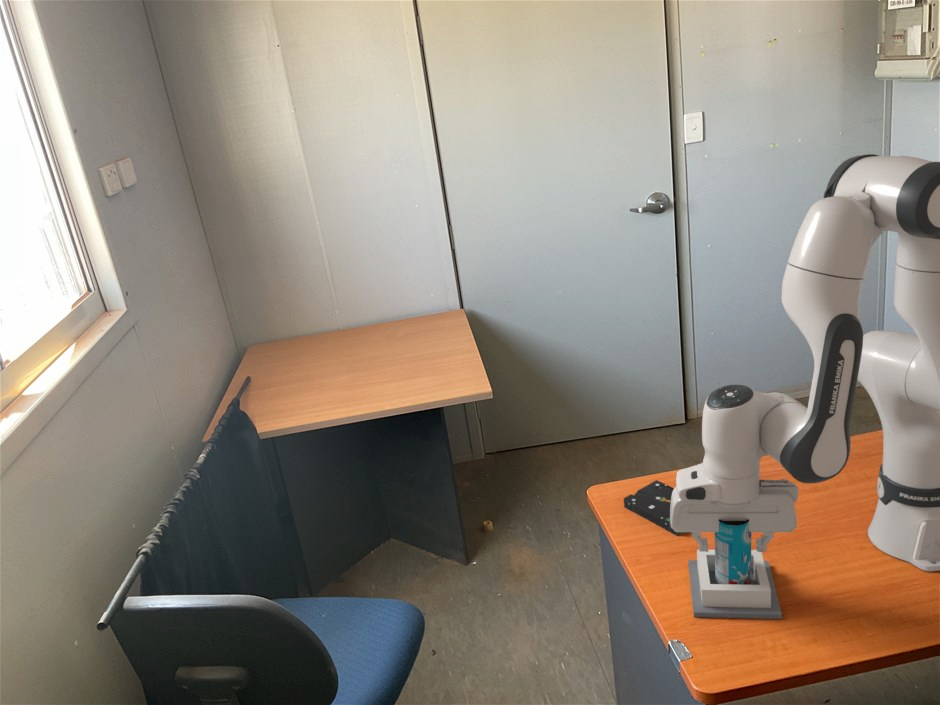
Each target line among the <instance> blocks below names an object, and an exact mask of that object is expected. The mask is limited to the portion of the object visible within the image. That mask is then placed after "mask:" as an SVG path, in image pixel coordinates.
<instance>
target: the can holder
mask: <svg viewBox="0 0 940 705" xmlns="http://www.w3.org/2000/svg"><path fill="white" fill-rule="evenodd" d="M687 563H688V564H687V565H688V573H689V574H688V575H689V583H690V591H691V594H690V595H691V602H692V611H693V612H692V613H693V618H714V619H715V618H719V619H720V618H721V619H722V618H723V619H757V620H759V619H763V620H782V619H783V613H782V610H781V606H780V602H779V601H780V600H779V597H778V594H777V590H776V589H777V588H776V585H775V581H774V578H773V575H772V570H771V566H770V562H769V560H764V557H763V552H757V549H751V585H733V584H716V582H715V549H708V552H699V549H696V559H694V560H693V559H688V561H687Z"/></svg>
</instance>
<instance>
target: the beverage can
mask: <svg viewBox="0 0 940 705" xmlns="http://www.w3.org/2000/svg"><path fill="white" fill-rule="evenodd" d="M719 522H720V523H719V532H714V550H715V582H716V584H733V585H751V550H752V532H749V523H748V522H749V519H748V520H747V521H722V520H720V519H719Z"/></svg>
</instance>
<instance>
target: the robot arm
mask: <svg viewBox="0 0 940 705" xmlns="http://www.w3.org/2000/svg"><path fill="white" fill-rule="evenodd" d="M826 185H827V186H826V188H825V191H824V193H823V198H821V199H819V200H817V201H816V202H814V203H813V204H812V205H811V207H810V208H809V209H808V211H807V213H806V214H805V217H804V218H803V220H802V223H801V225H800V227H799V229H798V232H797V234H796V236H795V239H794V241H793V244H792V246H791V250H790V253H789V257H788V259H787V263H786V267H785V270H784V274H783V277H782V282H781V284H782V285H781V298H780V299H781V303H782V306H783V309H784V311H785V313H786V314H787V316H788V318H789V319H790V320H791V321H792V322H793V324H795V326H796V327H797V328H798V330H799V331H800V332H801V333H802V335H803V336H804V339H805V340H806V341H807V344H808V345H809V348H810V349H811V352H812V357H813V362H814V364H813V365H814V367H813V374H812V380H811V386H810V392H809V398H808V404H807V406H805V405H804V404H803V403H801V402H800V401H798V400H796V399H795V398H793V397H792V396H790V395H787V394H785V393H783V392H780V391H768V392H761V391H756V390H754V389H752V388H751V387H749V386H747V385H744V384H728V385H725V386H721V387H718V388H717V389H714V390H713V391H712V392H711V393H710V394H709V395H707V398H706V400H705V402H704V406H703V410H702V420H701V441H702V446H703V449H704V457H703V459H702V462H701V463H698V464H695V465H691V466H690V467H686V468H682V469H679V470H678V471H677V472H676V477H675V478H676V479H675V485H676V486H674V487H673V488H674V490H673V492H672V496H671V504H670V524H671V528H672V529H673V530H674V531H675V532H683V533H691V537H693V539H694V540H695V542H697V545H698V550H699V552H708V550H709V542H708V538H707V537H703V536H702V533H715V532H719V523H720V522H719V519H720V520H722V521H747V520H748V519H749V522H748V523H749V532H751V533H762V535H761V537H756V538H755V542H756V543H755V550H757V552H762V553H767V551H768V550H767V547H768V546H767V545H768V544H769V543H770V541H772V540H773V538H774V536H775V535H774V534H775V533H792V532H793V531H794V530H796V529H797V527H798V524H797V523H798V522H797V521H798V520H797V512H796V511H797V510H796V508H795V507H796V506H795V503H796V502H797V501H798V498H799V488H798V485H797V484H796V483H794V482H792V481H789V479H787V478H782V479H768V478H767V479H760V478H761V476H760V473H761V472H760V470H761V468H760V466H761V463H760V462H761V461H760V460H761V459H762V458H763V457H767V456H770V457H771V458H772V459H773V460H774V461H775V462H777V463H779V464H780V465H781V467H783V469H784V470H786V472H787V473H789V474H790V476H791V477H792V478H793V479H795V480H796V481H798V482H800V483H802V484H818V483H824V482H826V481H830V479H831V480H832V479H833V478H834V477H836V476H838V475H839V474H840V473H841V472H842V470H844V468H845V467H846V465H847V462H848V460H849V458H850V454H851V443H852V442H851V419H852V418H851V417H852V412H853V406H854V401H855V396H856V395H855V394H856V390H857V384H858V382H859V383H860V384H861V385H862V386H863V388H864V389H865V390H866V392H867V393H868V395H869V396H870V399H871V401H872V403H873V405H874V406H875V409H876V411H877V413H878V414H877V415H878V416H879V417H878V418H879V420H880V422H881V427H882V436H883V437H882V438H883V439H882V440H883V443H882V444H883V445H882V446H883V447H882V448H883V449H882V453H883V454H882V463H881V465H880V466H879V473H878V477H877V487H876V488H877V491H876V492H877V496H878V500H877V504H876V508H875V511H874V515H873V516H872V517H873V518H872V520H871V521H870V524H869V526H868V528H867V535H868V538H869V540H870V542H871V543H872V544H873V545H874V546H875V547H876V548H878V549H879V550H880V551H882V552H883V553H885V554H887V555H889V556H891V557H894V558H897V559H899V560H902V561H904V562H908V563H910V564H911V565H912V566H913V565H914V566H915V567H917V568H919V569H920V570H922V571H926V572H939V571H940V413H939V412H940V161H930V160H928V159H924V158H920V157H919V158H918V157H914V156H907V155H899V156H897V155H896V156H895V155H878V154H871V153H870V154H869V153H868V154H861V155H856V156H853V157H849V158H847V159H846V160H844V161H842V163H840V165H838V167H836V169H835V170H834V172H833V173H832V175H831V176H830V178H829V180H828V183H827V184H826ZM888 231H889V232H894V233H897V235H898V241H897V247H896V248H897V249H896V260H895V269H894V270H895V273H894V288H893V305H894V309H895V311H896V313H897V314H898V316H899V317H901V319H902V320H903V321H904V322H906V323H907V324H908V325H909V326H910V327H911V329H913V331H914V333H915V334H916V335H914V334H910V333H908V332H907V333H906V332H903V331H894V330H869V331H868V332H867V333H865V334H864V331H863V326H862V323H861V319H860V302H861V300H860V299H861V294H862V293H861V292H862V288H863V284H864V281H865V276H866V273H867V270H868V267H869V266H868V265H869V261H870V258H871V253H872V248H873V246H874V244H875V242H876V241H877V240H878V238H880V237H881V235H883V233H884V232H888Z"/></svg>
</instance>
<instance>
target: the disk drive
mask: <svg viewBox="0 0 940 705" xmlns="http://www.w3.org/2000/svg"><path fill="white" fill-rule="evenodd" d="M674 488H675V487H673V486H670V485H668V484H666V483H664V482H662V481H660V480H653V481H652V482H650V483H649V484H646V485H645V486H644V487H641V488H639V489H637V491H636V492H635V493H634V494H629V495H627V496H625V497H623V506H624V508H625V509H626V510H628V511H630V512H632V513H635V515H638V516H639V517H642V518H643V519H645V520H647V521H649V522H651V523H653V524H655V525H656V526H658V527H660V528H661V529H664V530H665V531H667V532H668V533H671V534H672V535H675V536H677V537H678V536H680V535H681V534H683V533H684V532H675V531H674V530H673V529H672V528H671V524H670V504H671V496H672V492H673V490H674Z"/></svg>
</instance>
